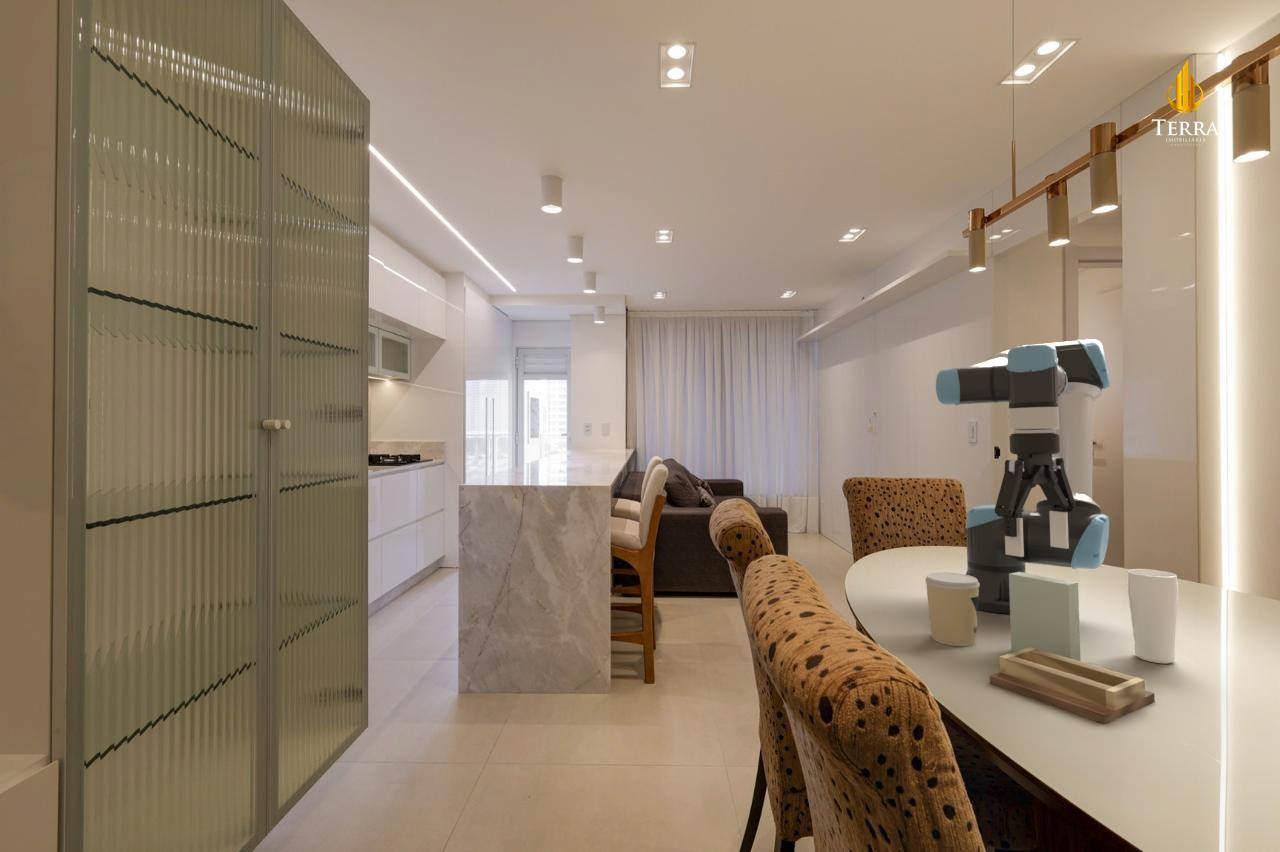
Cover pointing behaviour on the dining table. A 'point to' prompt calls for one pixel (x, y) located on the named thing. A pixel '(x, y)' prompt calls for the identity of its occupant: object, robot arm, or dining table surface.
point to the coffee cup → (953, 608)
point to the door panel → (1044, 614)
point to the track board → (1066, 699)
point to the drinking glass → (1153, 613)
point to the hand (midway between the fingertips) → (1037, 551)
